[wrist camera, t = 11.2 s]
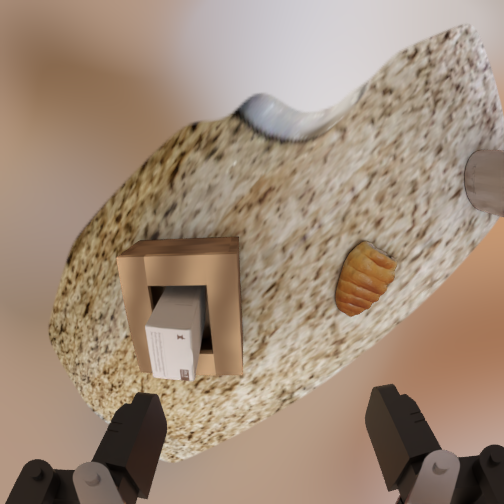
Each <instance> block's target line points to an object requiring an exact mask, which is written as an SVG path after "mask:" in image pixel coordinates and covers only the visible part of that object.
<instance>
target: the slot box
mask: <svg viewBox="0 0 504 504" xmlns="http://www.w3.org/2000/svg"><path fill="white" fill-rule="evenodd" d="M116 258H117V265H118V271H119V277H120V283H121V289H122V294H123V299H124V305H125V310H126V314H127V319H128V324H129V328H130V332H131V337H132V341H133V345H134V349H135V353H136V357H137V361H138V364H139V368H140V372H146V373H153V372H152V367H151V361H150V355H149V349H148V343H147V337H146V330H145V325H146V323H147V321H148V320H149V318H150V316H151V314H152V312H153V310H154V308H155V306H156V305H157V303H158V301H159V299H160V297H161V295H162V294H163V292H164V290H165V288H166V286H186V285H205V318H206V319H205V325H204V330H203V336H202V341H201V347H200V353H199V359H198V364H197V370H196V375H243V330H242V308H241V285H240V261H239V237H217V238H190V239H164V240H141V241H138V242H137V243H136V244H134V245H133V246H131V247H130V248H129V249H127V250H126V251H125V252H123V253H122V254H121V255H119V256H118V257H116Z"/></svg>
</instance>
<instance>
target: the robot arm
mask: <svg viewBox="0 0 504 504" xmlns="http://www.w3.org/2000/svg"><path fill="white" fill-rule="evenodd" d="M465 187H466V192H467V195H468V198H469V200H470V202H471V203H472V205H473V206H474V207H475V208H476V209H478V210H480V211H483V212H487V213H491V214H494V215H498V216H501V217H504V150H478V151H476V152H475V153H473V154H472V155H471V157H470V158H469V160H468V163H467V166H466V170H465ZM365 424H366V428H367V431H368V433H369V437H370V439H371V442H372V445H373V448H374V451H375V453H376V456H377V459H378V462H379V465H380V468H381V471H382V474H383V477H384V480H385V483H386V486H387V489H388V491H392V490H396V489H398V490H399V492H400V496H399V497H398V499H397V501H396V503H395V504H504V447H502V446H500V445H490V446H488V447H486V448H484V450H483V451H482V452H481V453H480V455H478V456H469V457H457V456H456V455H455V454H454V453H452V452H450V451H447V450H442V448H441V447H440V445H439V443H438V441H437V439H436V438H435V436H434V434H433V432H432V430H431V429H430V427H429V425H428V423H427V421H425V418H424V416H423V414H422V413H421V411H420V409H419V407H418V406H417V404H416V402H415V401H414V400H413V399H411V398H410V397H409V396H408V395H406V394H404V395H400V394H399V392H398V391H397V389H396V387H395V386H394V385H393V384H388V385H383V386H378V387H374V388H373V389H372V392H371V396H370V400H369V404H368V407H367V411H366V415H365ZM166 433H167V421H166V418H165V415H164V412H163V409H162V406H161V403H160V399H159V397H158V395H157V394H150V393H141V392H138V393H137V394H136V395H135V397H134V399H133V401H132V403H131V404H126V403H125V404H124V405H123V406H122V407H120V408H119V409H118V410H117V411H116V412H115V414H114V416H113V418H112V420H111V423H110V424H109V426H108V428H107V431H106V433H105V435H104V437H103V439H102V441H101V443H100V445H99V447H98V449H97V451H96V453H95V455H94V457H93V459H92V461H91V462H86V463H83V464H82V465H80V466H78V467H77V469H76V470H57V469H53V468H52V467H51V466H50V464H48V463H47V462H46V461H44V460H40V459H35V460H32V461H29V462H28V463H27V464H25V466H24V467H23V469H22V471H21V473H20V475H19V477H18V479H17V481H16V482H15V484H14V487H13V489H12V491H11V493H10V495H9V497H8V499H7V501H6V503H5V504H136V500H137V497H139V498H144V499H148V495H149V492H150V488H151V485H152V481H153V477H154V474H155V471H156V467H157V464H158V460H159V457H160V454H161V450H162V447H163V444H164V440H165V437H166Z"/></svg>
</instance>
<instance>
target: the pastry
mask: <svg viewBox="0 0 504 504" xmlns="http://www.w3.org/2000/svg"><path fill="white" fill-rule="evenodd" d="M396 266H397V261H396V259H395V258H393V257H391V256H388V254H387V253H385V252H384V251H381V250H379V249H376V248H375V246H374V245H373V244H372V243H370V242H368V241H364V242H362V243H360V244H359V245H358V246H357V247H355V248H354V249H353V250H352V251H351V252H350V253H349V255H348V257H347V258H346V260H345V262H344V266H343V268H342V271H341V274H340V278H339V282H338V285H337V289H336V293H335V298H336V305H337V307H338V309H339V310H340V311H342V312H344V313H345V314H347V315H348V316H350V317H352V316H354V315H358V314H360V313H361V312H363V311H364V310H366V309H369V308H370V307H371V305H372V303H374V302H376V301H378V300H379V297H380V296H381V295H382V294H384V293H385V291H386V290H387V285H388V284H389V283H391V282H392V281H393V280H394V277H395V274H394V271H395V269H396Z"/></svg>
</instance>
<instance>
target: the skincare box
mask: <svg viewBox="0 0 504 504" xmlns="http://www.w3.org/2000/svg"><path fill="white" fill-rule="evenodd" d="M205 319H206V318H205V285H186V286H166V288H165V290H164V292H163V294H162V295H161V297H160V299H159V301H158V303H157V305H156V306H155V308H154V310H153V312H152V314H151V316H150V318H149V320H148V321H147V323H146V325H145V330H146V337H147V343H148V349H149V355H150V361H151V367H152V372H153V377H155V378H163V379H173V380H186V381H194V380H195V375H196V370H197V364H198V359H199V353H200V347H201V341H202V336H203V330H204V325H205Z"/></svg>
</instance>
